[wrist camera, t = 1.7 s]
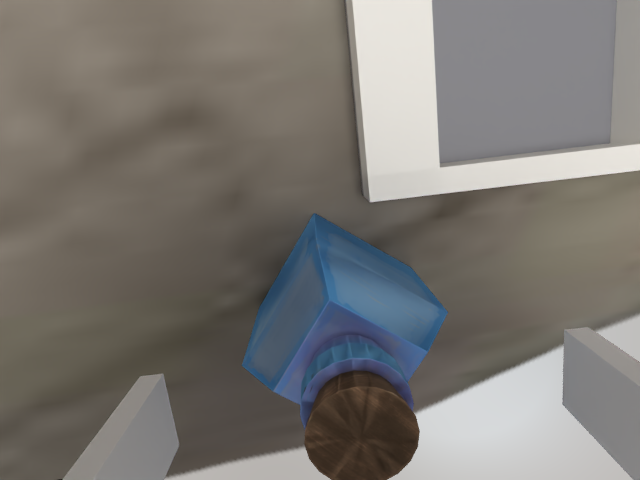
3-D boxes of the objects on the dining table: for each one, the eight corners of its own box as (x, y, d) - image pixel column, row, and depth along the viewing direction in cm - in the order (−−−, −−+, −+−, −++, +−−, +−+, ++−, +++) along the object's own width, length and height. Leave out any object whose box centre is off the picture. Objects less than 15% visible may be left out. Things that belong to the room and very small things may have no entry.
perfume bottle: (411, 267, 23) (519, 398, 11) (353, 356, 24) (396, 559, 12) (314, 212, 22) (320, 292, 10) (259, 307, 23) (208, 476, 11)
